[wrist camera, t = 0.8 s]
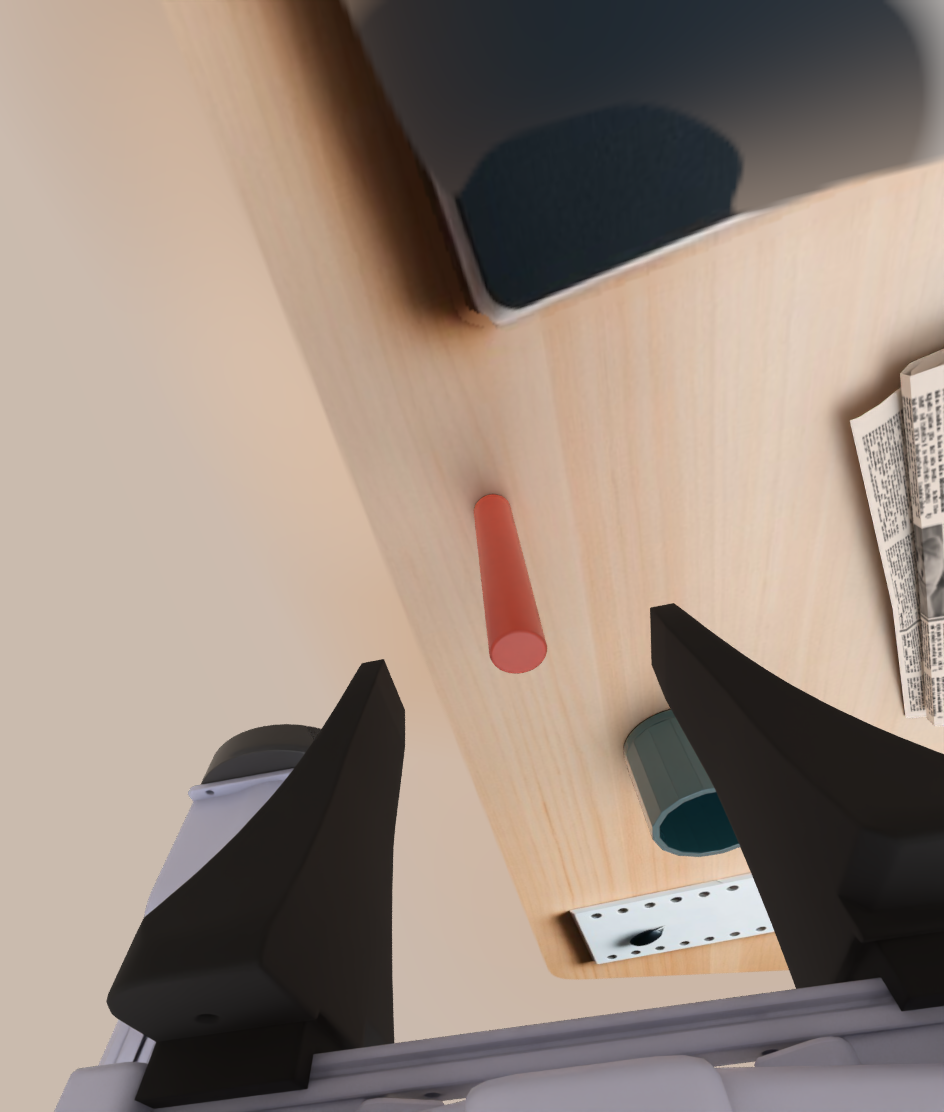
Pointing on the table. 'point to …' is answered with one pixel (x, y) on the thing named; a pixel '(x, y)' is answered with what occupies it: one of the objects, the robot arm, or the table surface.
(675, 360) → the table surface
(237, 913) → the robot arm
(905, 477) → the newspaper
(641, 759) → the cup
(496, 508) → the red wooden dowel
